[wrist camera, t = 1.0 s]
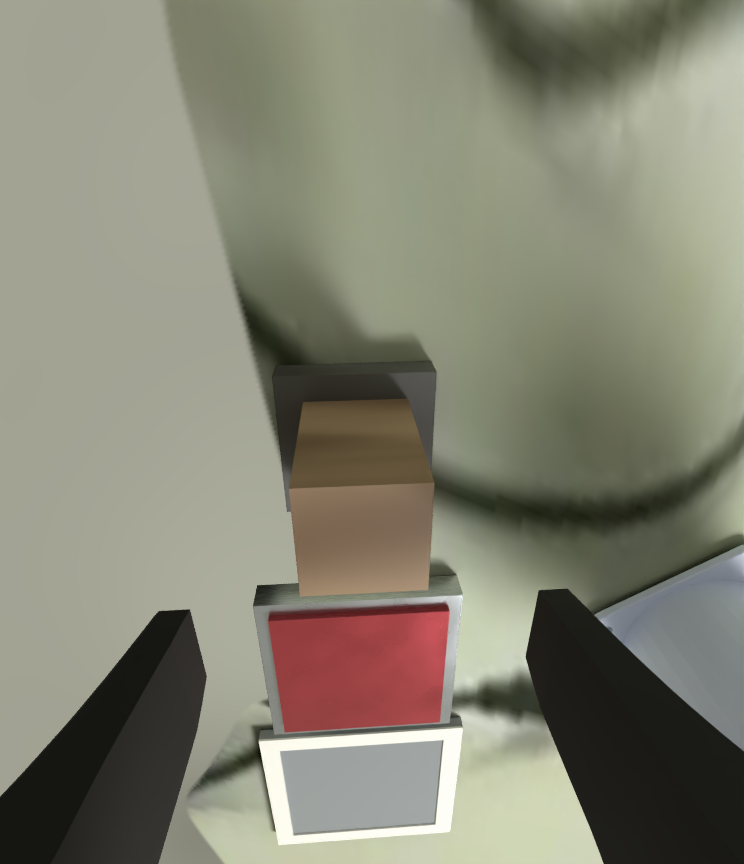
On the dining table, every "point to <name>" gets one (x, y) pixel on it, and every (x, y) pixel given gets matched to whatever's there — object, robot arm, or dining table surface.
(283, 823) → the marked square
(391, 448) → the stamp
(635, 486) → the dining table surface
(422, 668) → the ink pad
